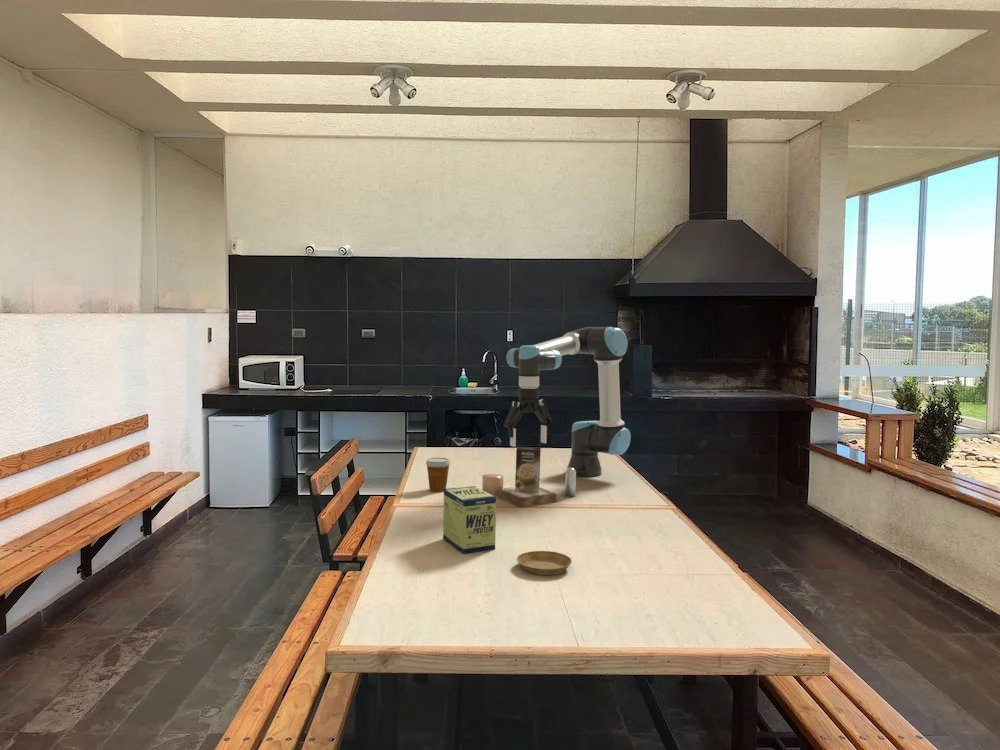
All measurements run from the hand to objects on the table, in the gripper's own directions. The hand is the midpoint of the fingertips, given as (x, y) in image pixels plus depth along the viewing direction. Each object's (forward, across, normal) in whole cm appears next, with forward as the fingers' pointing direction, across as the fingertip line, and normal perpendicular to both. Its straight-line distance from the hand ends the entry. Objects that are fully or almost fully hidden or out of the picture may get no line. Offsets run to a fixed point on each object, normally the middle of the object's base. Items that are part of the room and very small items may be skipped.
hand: (528, 444), depth 258 cm
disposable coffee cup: (+21, +24, -28) cm, 42 cm away
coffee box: (+18, 0, 0) cm, 18 cm away
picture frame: (+21, +1, 0) cm, 21 cm away
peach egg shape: (+21, +8, -13) cm, 26 cm away
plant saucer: (+20, +36, +63) cm, 76 cm away
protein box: (+20, +45, +36) cm, 61 cm away
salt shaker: (+21, -17, +3) cm, 27 cm away
